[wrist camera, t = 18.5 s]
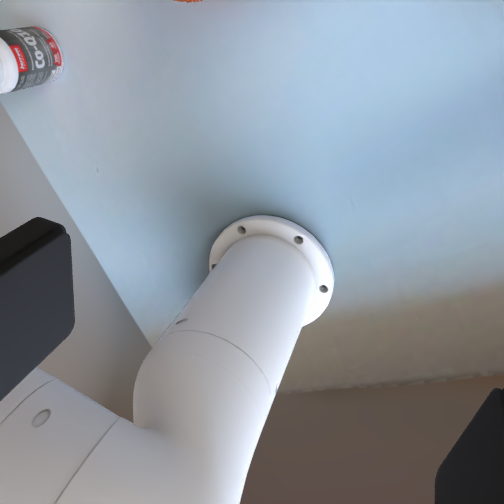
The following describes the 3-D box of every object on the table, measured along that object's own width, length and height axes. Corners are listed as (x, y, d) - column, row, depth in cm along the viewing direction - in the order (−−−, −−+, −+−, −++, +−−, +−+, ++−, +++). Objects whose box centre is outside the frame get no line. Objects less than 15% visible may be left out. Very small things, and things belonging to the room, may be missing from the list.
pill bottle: (74, 60, 42) (4, 76, 35) (48, 91, 45) (-23, 111, 38) (38, 13, 41) (-42, 20, 34) (13, 48, 44) (-66, 61, 37)
